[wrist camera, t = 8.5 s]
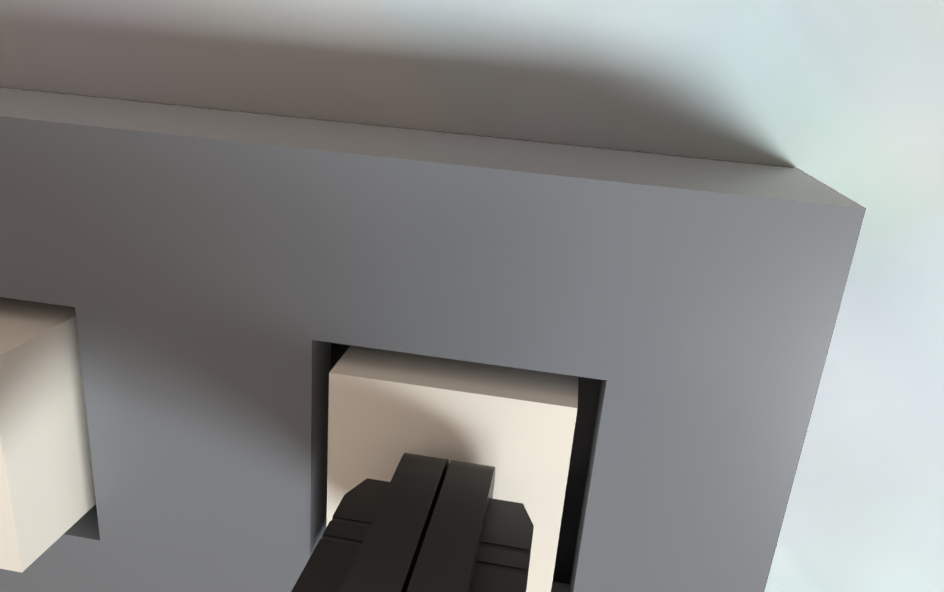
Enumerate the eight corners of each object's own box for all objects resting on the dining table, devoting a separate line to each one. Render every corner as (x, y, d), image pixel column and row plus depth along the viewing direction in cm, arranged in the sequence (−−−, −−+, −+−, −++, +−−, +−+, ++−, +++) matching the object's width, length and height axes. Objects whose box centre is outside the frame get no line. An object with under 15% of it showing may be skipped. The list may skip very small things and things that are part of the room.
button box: (798, 168, 13) (865, 208, 10) (630, 898, 20) (638, 1065, 17) (-174, 69, 16) (-377, 75, 12) (-34, 754, 22) (-141, 876, 19)
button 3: (579, 344, 14) (577, 408, 11) (554, 521, 15) (547, 613, 13) (373, 317, 14) (328, 372, 12) (366, 491, 16) (325, 574, 13)
